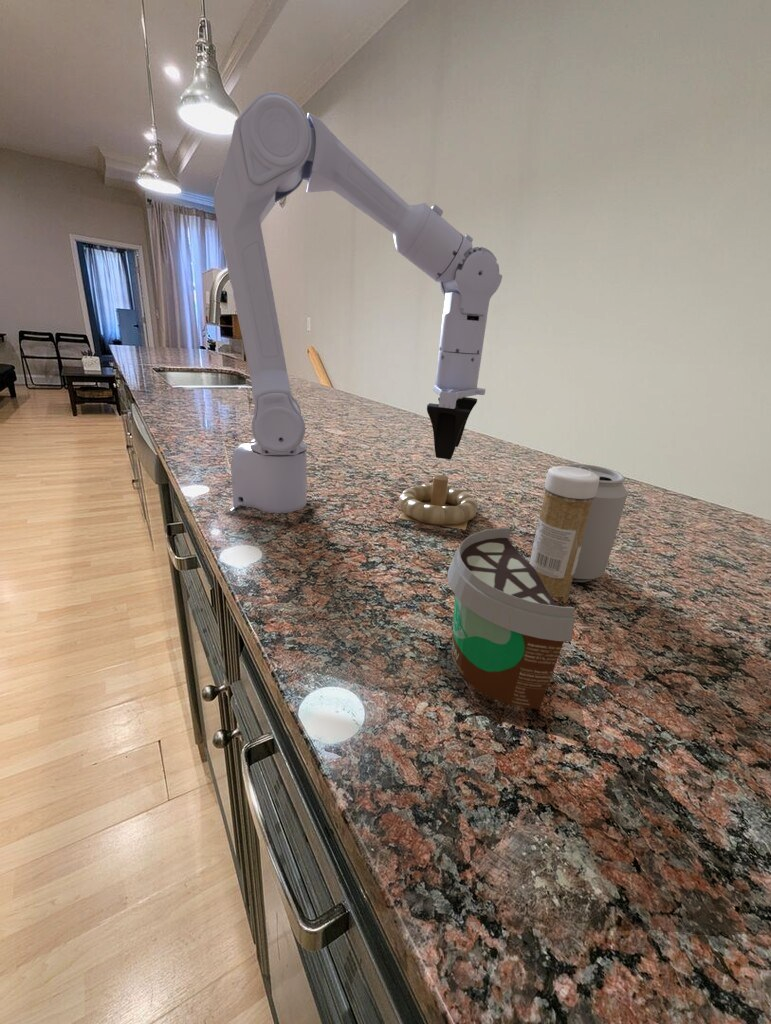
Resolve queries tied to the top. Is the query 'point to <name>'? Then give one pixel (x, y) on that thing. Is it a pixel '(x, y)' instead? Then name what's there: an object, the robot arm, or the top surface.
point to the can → (600, 523)
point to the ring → (434, 514)
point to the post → (437, 501)
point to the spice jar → (562, 526)
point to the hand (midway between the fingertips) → (447, 451)
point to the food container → (504, 621)
